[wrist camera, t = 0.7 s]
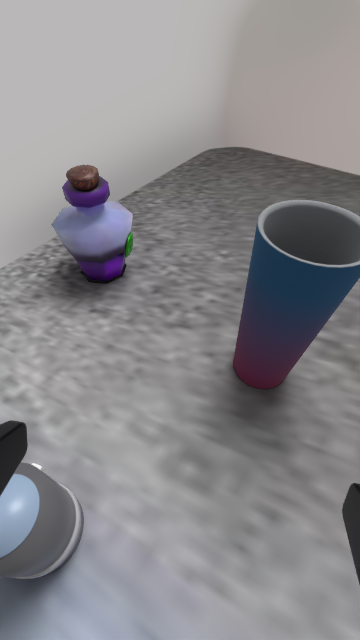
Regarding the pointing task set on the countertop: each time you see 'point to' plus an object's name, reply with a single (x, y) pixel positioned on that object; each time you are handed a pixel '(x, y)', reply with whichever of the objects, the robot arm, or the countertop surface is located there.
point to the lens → (37, 524)
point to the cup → (293, 285)
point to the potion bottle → (94, 226)
